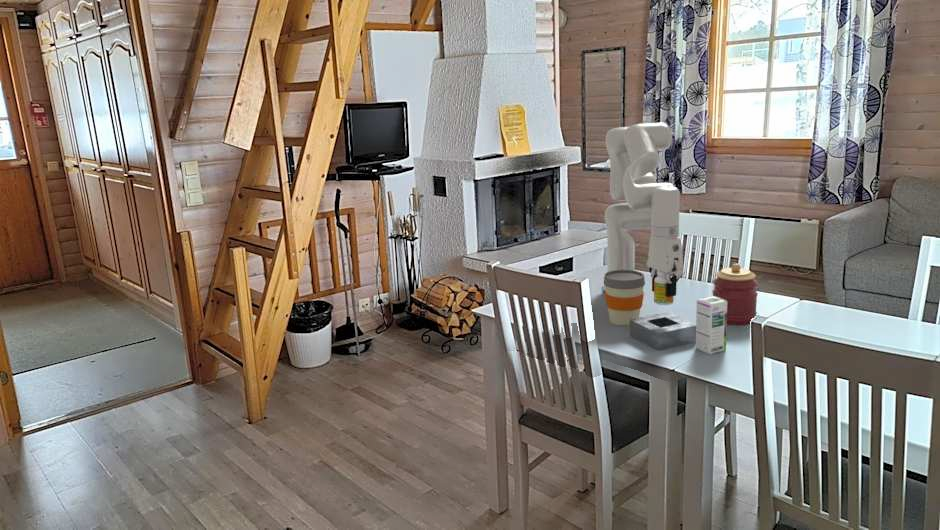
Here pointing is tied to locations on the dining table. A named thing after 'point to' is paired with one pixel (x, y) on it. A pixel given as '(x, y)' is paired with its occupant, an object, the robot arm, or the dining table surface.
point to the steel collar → (663, 330)
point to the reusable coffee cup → (624, 295)
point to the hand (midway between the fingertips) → (663, 292)
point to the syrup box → (711, 324)
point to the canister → (737, 293)
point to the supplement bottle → (661, 289)
